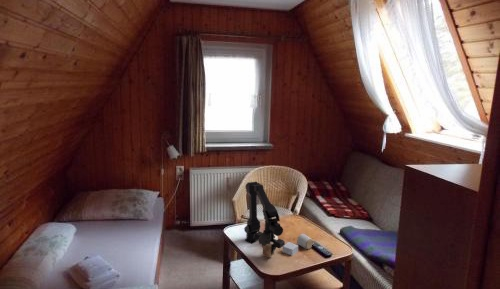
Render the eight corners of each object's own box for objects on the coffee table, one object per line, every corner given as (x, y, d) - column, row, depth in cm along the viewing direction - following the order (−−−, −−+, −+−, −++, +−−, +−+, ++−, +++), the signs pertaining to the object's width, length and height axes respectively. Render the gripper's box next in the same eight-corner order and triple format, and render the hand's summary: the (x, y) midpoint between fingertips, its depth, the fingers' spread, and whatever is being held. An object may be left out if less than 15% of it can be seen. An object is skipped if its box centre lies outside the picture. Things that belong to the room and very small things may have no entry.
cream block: (267, 245, 213) (268, 237, 212) (270, 242, 218) (270, 234, 216) (275, 247, 211) (275, 238, 210) (277, 244, 216) (278, 235, 215)
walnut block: (262, 254, 199) (262, 245, 198) (267, 251, 203) (267, 242, 202) (269, 257, 196) (269, 248, 195) (274, 254, 200) (274, 244, 199)
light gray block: (282, 252, 206) (282, 246, 205) (288, 247, 212) (288, 241, 211) (292, 255, 202) (292, 249, 201) (297, 251, 208) (298, 245, 207)
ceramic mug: (305, 251, 208) (306, 239, 206) (296, 246, 214) (297, 234, 213) (316, 246, 215) (318, 235, 213) (307, 241, 221) (308, 230, 219)
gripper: (248, 228, 195) (247, 252, 198) (275, 238, 184) (274, 264, 187) (259, 222, 204) (258, 245, 207) (286, 231, 193) (284, 256, 196)
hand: (268, 252), depth 199 cm, fingers closed on walnut block, 5 cm apart
